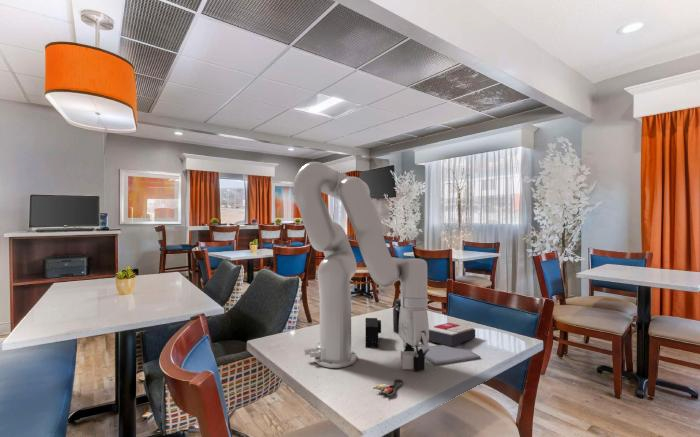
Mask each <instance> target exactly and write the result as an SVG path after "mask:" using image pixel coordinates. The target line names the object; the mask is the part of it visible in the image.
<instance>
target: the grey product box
mask: <svg viewBox="0 0 700 437" xmlns="http://www.w3.org/2000/svg"><path fill="white" fill-rule="evenodd" d="M475 338H476V329H475V328H474V327H472V326H466V325H460V324H456V323H452V322H446V323H442V324H438V325H433V326H431V327H429V342H433V343H436V344H439V345H448V346H451V347H454V346H457V345H461V343H464V342H466V341H470V340H473V339H475Z"/></svg>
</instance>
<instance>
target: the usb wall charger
mask: <svg viewBox="0 0 700 437" xmlns="http://www.w3.org/2000/svg"><path fill="white" fill-rule="evenodd" d="M414 356H415V352H414V351H404V350H403V351H402V350H401V351H400V366H401V369H402V370H407V371H408V370H413V371H414ZM427 363H428V360H425V364H427Z"/></svg>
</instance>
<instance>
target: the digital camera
mask: <svg viewBox="0 0 700 437" xmlns="http://www.w3.org/2000/svg"><path fill="white" fill-rule="evenodd" d="M379 334H382V320H381V319H379V320H378V318H377V317H365V348H375V349H377V348H379Z"/></svg>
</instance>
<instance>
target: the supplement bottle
mask: <svg viewBox="0 0 700 437" xmlns="http://www.w3.org/2000/svg"><path fill="white" fill-rule="evenodd" d="M400 307H401V298H396V299H395V305H394V307H393V308H392V328H393V332H394V333H395V334H398V335H399V313H400Z"/></svg>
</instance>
